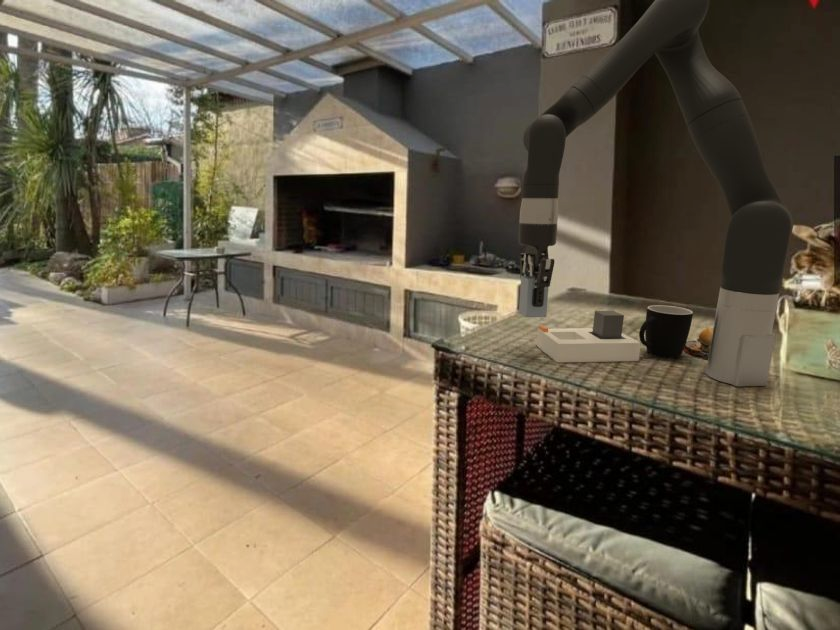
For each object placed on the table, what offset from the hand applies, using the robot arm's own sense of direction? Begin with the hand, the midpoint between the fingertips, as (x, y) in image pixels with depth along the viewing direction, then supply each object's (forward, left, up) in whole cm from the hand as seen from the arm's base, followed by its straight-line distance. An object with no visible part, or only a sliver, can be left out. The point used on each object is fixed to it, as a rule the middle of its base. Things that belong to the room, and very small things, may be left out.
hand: (533, 303), depth 104 cm
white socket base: (+1, -13, -11) cm, 17 cm away
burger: (-1, -42, -12) cm, 44 cm away
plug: (0, 0, -2) cm, 2 cm away
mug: (-1, -29, -11) cm, 31 cm away
